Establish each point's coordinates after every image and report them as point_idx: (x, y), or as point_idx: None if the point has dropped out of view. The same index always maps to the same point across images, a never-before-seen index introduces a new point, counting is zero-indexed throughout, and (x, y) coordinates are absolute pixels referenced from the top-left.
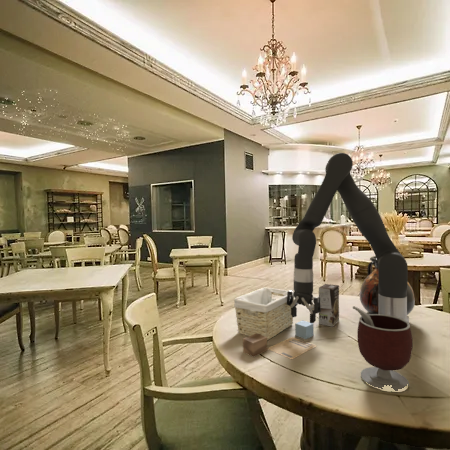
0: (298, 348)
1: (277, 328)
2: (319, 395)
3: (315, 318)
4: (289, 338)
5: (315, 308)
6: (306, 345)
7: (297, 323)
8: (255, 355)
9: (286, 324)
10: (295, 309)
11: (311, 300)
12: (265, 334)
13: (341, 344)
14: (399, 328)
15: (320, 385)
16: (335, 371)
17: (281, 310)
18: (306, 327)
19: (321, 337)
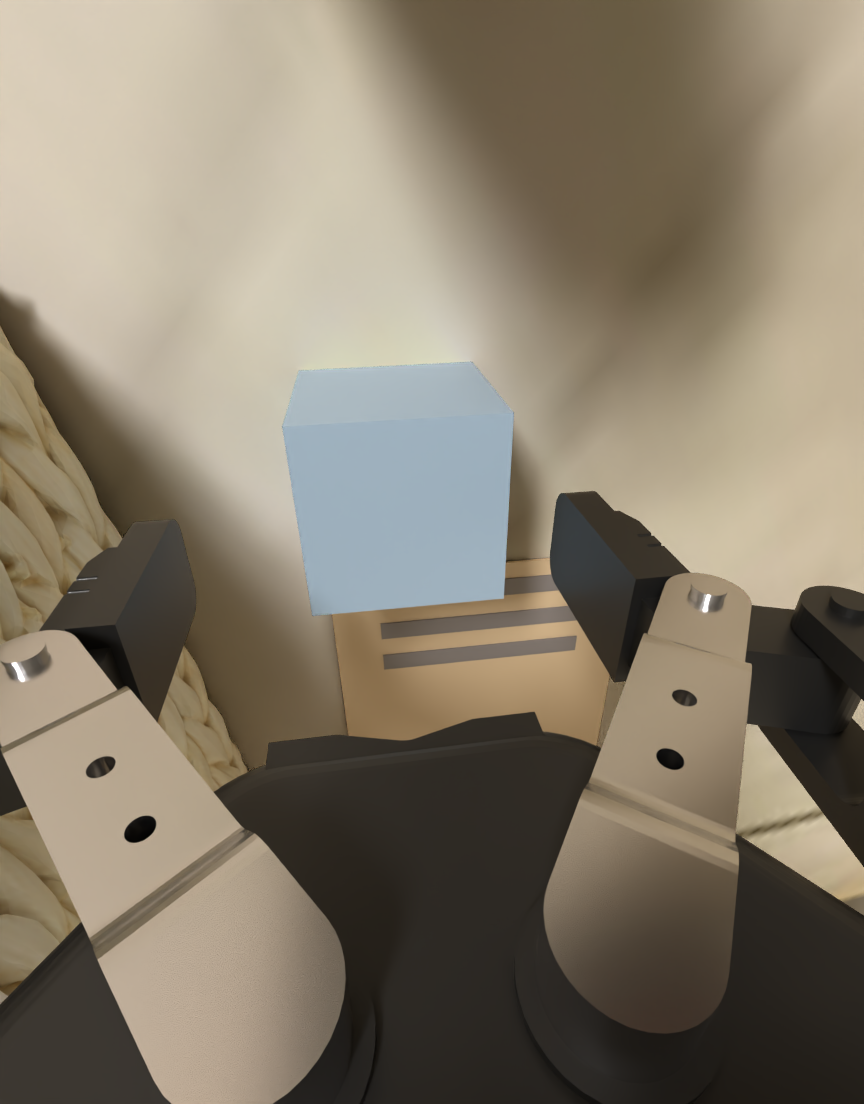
0: (531, 695)
1: (177, 710)
2: (826, 877)
3: (656, 547)
4: (341, 627)
5: (852, 796)
6: (555, 619)
7: (336, 595)
8: None
9: (82, 519)
10: (139, 637)
11: (807, 913)
12: None
13: (836, 320)
14: None
15: (812, 841)
16: (858, 723)
17: (27, 834)
18: (502, 583)
19: (573, 324)
